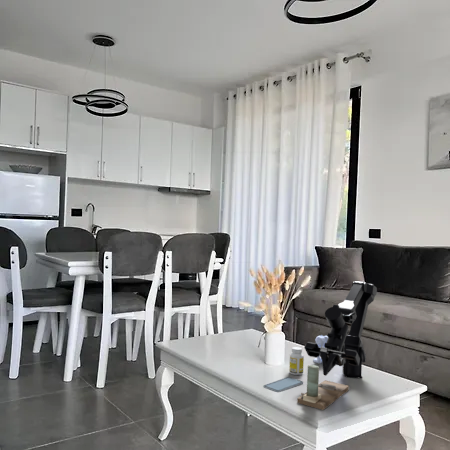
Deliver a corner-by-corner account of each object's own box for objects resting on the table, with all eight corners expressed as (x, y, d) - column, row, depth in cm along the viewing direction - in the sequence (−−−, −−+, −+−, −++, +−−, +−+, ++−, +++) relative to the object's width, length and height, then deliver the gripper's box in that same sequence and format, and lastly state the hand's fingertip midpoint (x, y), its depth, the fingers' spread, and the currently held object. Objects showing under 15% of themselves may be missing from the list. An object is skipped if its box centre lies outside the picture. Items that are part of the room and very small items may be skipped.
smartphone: (262, 385, 164) (288, 376, 174) (262, 388, 164) (288, 379, 174) (278, 391, 158) (304, 381, 169) (278, 394, 158) (304, 384, 169)
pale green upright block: (304, 394, 152) (305, 362, 152) (321, 398, 149) (322, 366, 149) (298, 398, 148) (299, 366, 148) (314, 403, 145) (316, 369, 145)
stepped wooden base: (325, 384, 169) (325, 377, 169) (348, 389, 164) (349, 383, 164) (297, 402, 149) (297, 395, 149) (323, 409, 144) (323, 402, 144)
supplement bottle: (301, 371, 183) (302, 346, 183) (304, 375, 178) (305, 350, 178) (288, 370, 183) (289, 346, 183) (290, 375, 178) (291, 349, 178)
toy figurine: (320, 359, 202) (321, 331, 202) (331, 363, 196) (332, 335, 196) (309, 361, 198) (310, 333, 198) (319, 365, 193) (320, 336, 193)
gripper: (367, 353, 165) (356, 393, 156) (318, 344, 175) (305, 381, 166) (361, 335, 158) (349, 376, 149) (311, 327, 169) (297, 364, 160)
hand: (324, 374), depth 156 cm, fingers closed
